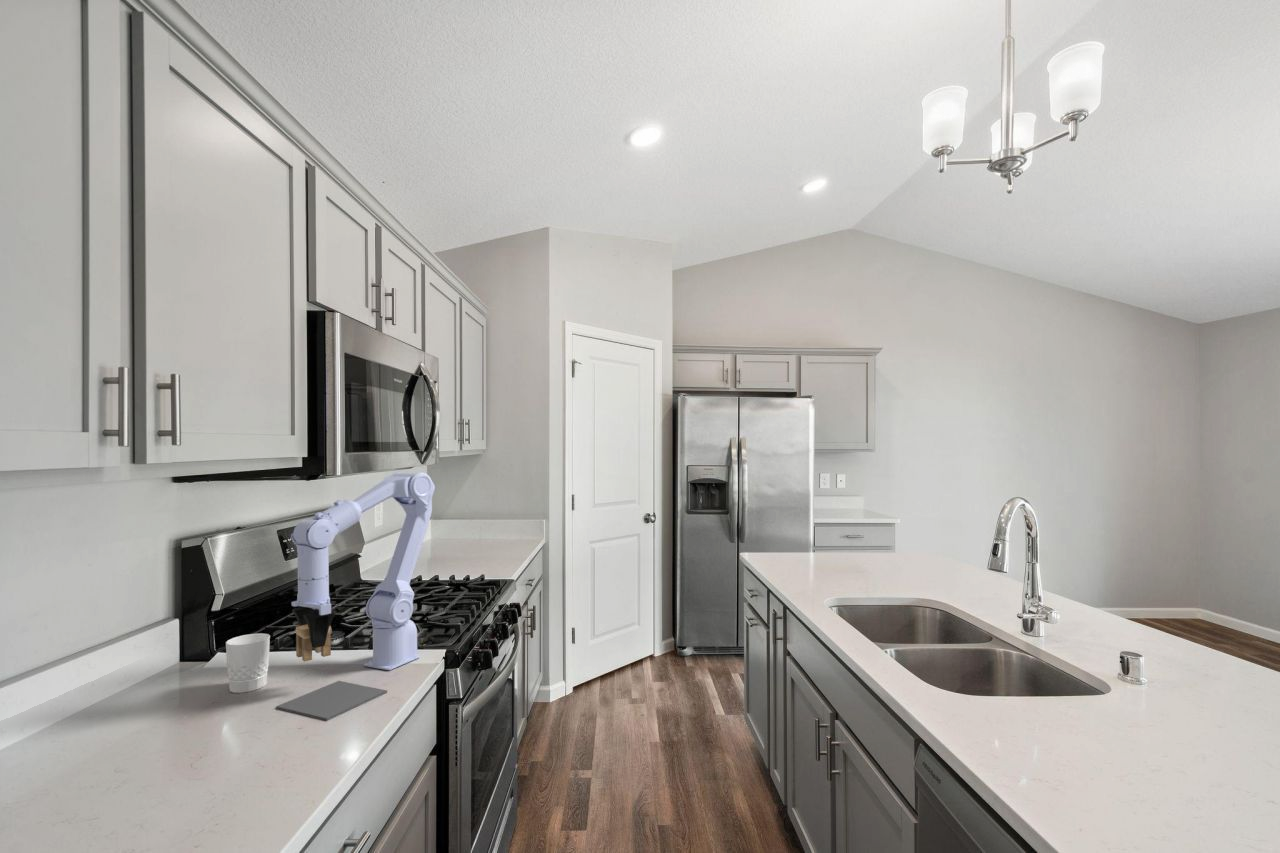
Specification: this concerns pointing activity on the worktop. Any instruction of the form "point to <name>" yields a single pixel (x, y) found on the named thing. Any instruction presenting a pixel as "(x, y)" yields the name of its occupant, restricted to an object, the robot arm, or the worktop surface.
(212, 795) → the worktop surface
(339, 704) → the mat
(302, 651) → the tan notched block
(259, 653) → the white cup
